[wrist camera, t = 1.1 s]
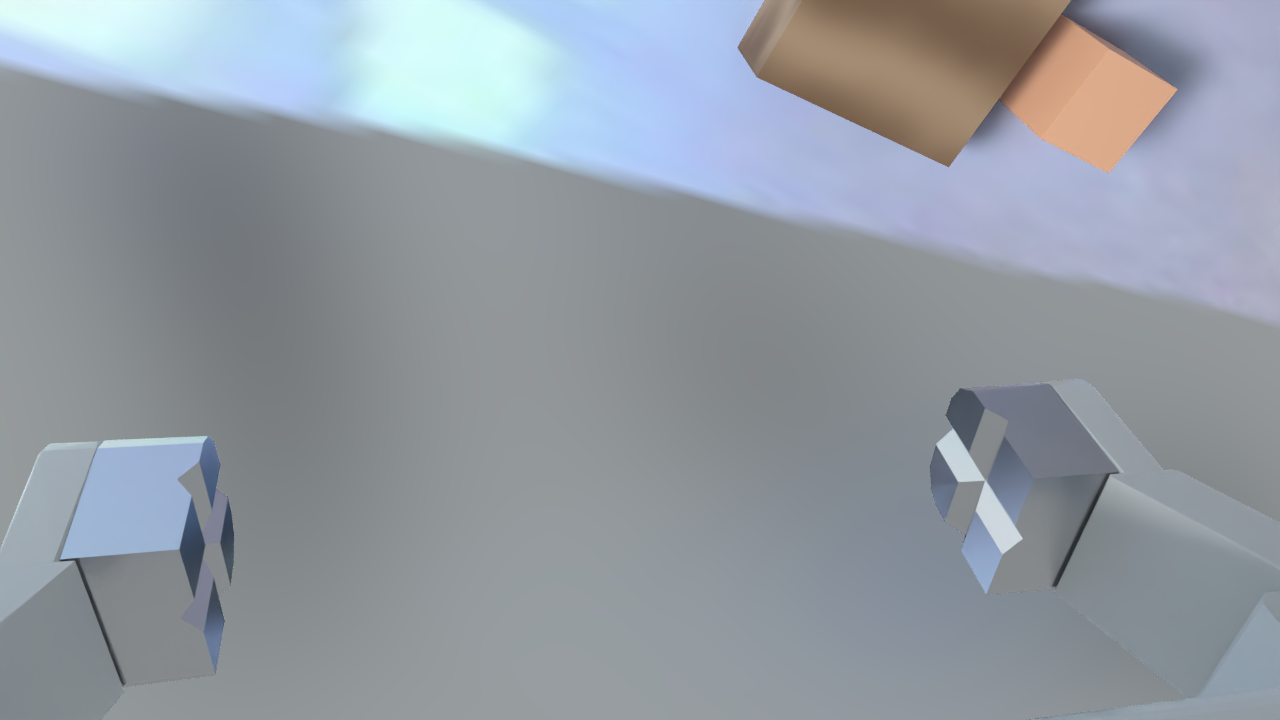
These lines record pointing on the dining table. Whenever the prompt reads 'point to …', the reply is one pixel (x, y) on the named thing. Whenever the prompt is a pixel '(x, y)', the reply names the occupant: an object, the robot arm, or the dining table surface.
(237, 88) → the dining table surface
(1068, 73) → the cube
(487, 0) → the dining table surface
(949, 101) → the base slab
